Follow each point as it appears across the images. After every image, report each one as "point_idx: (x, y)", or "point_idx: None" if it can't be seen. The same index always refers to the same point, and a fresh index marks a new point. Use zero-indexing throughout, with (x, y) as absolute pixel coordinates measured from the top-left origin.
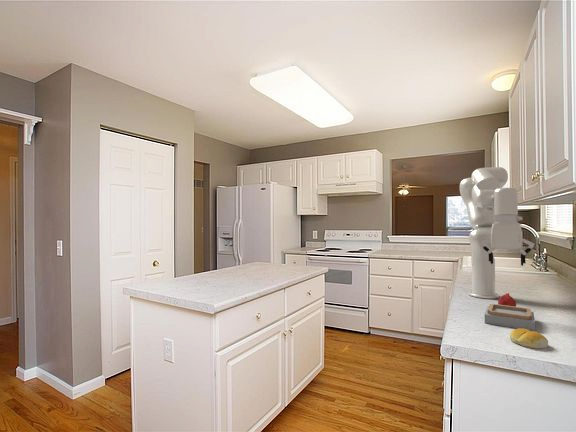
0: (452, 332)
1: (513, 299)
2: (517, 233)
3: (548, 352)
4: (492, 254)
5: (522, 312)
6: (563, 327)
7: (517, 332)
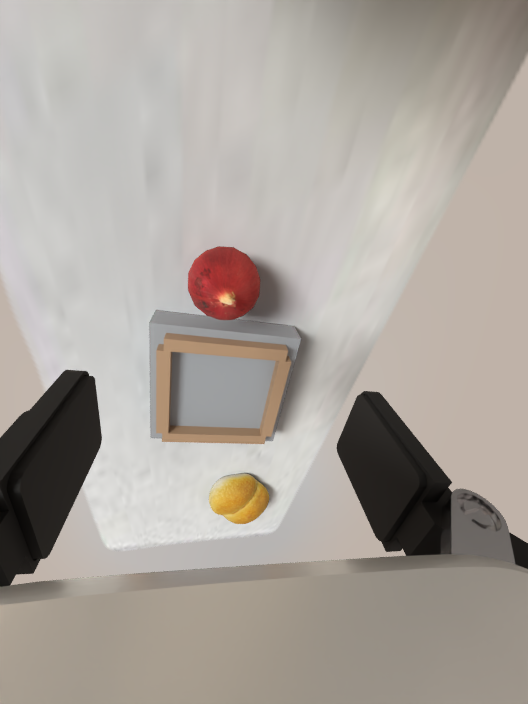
0: (99, 504)
1: (251, 303)
2: None
3: None
4: (47, 556)
5: (262, 366)
6: (348, 364)
7: (221, 513)
